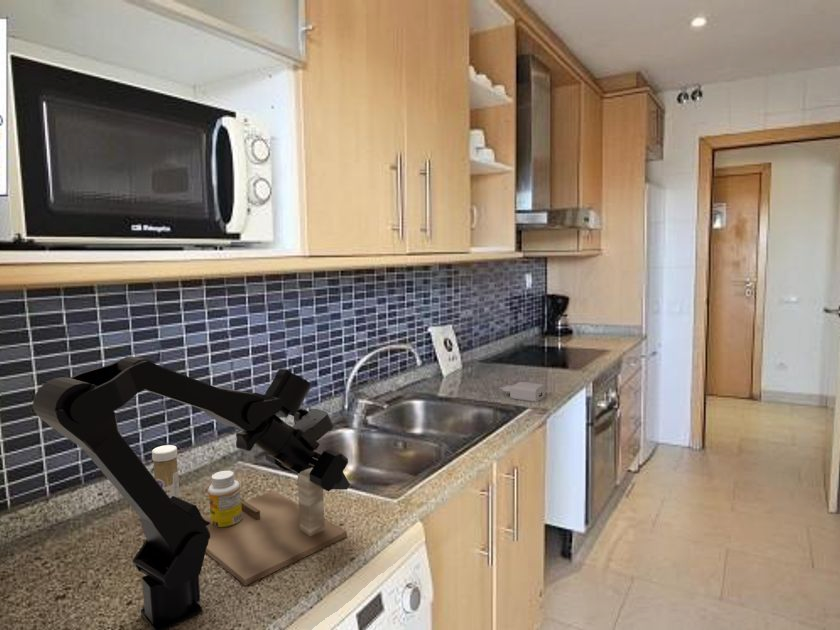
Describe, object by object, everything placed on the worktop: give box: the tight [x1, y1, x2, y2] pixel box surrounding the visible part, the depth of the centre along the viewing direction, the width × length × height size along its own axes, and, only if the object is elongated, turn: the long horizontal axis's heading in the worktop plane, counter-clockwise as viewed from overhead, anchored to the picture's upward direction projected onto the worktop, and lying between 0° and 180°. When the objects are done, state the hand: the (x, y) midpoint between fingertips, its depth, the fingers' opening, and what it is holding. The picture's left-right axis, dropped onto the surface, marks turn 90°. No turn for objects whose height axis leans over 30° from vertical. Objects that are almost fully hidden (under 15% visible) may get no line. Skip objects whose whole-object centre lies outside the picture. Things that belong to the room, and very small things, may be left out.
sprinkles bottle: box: [151, 444, 180, 498], centre depth 108 cm, size 5×5×14 cm
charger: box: [499, 381, 546, 403], centre depth 191 cm, size 5×9×15 cm
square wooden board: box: [202, 468, 348, 587], centre depth 100 cm, size 20×25×12 cm
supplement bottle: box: [207, 470, 242, 528], centre depth 103 cm, size 6×6×10 cm
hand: (332, 479), depth 102 cm, fingers open, 9 cm apart
